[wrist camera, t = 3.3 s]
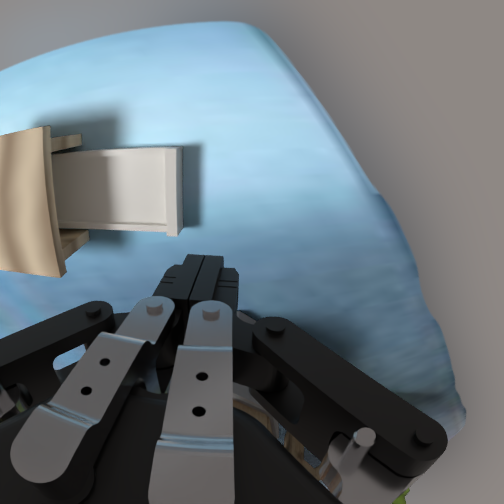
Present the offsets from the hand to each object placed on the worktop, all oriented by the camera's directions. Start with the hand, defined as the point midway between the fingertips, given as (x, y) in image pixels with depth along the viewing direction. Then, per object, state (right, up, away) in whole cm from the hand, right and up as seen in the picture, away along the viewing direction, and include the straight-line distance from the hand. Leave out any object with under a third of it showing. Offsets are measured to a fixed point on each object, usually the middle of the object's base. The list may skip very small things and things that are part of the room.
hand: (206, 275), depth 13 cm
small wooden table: (-21, +8, +15) cm, 27 cm away
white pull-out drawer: (-12, +7, +15) cm, 21 cm away
